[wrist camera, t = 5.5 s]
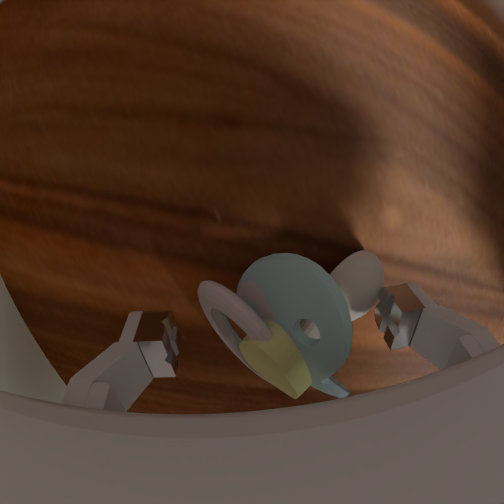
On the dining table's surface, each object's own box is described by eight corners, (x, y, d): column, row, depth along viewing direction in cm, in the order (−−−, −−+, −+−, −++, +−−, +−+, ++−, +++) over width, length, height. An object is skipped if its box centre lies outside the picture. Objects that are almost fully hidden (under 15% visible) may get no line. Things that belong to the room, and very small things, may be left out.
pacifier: (158, 265, 9) (316, 359, 6) (274, 169, 12) (415, 198, 8) (229, 367, 14) (329, 433, 10) (302, 284, 17) (398, 324, 13)
